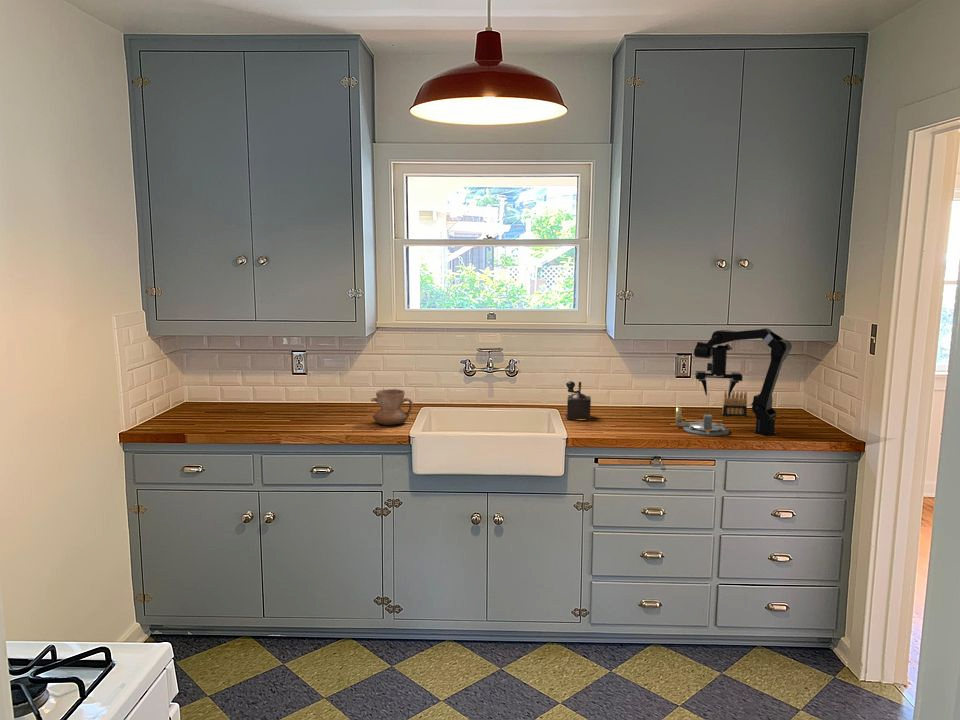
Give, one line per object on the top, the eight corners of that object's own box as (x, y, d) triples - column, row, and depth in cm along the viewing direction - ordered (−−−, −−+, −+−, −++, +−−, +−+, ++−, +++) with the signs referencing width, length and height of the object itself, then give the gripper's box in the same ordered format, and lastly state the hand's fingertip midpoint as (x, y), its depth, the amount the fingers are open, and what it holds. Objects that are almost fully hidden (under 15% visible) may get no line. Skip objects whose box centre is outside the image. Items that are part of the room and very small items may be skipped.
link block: (710, 426, 287) (711, 414, 287) (711, 429, 282) (712, 417, 281) (703, 425, 288) (703, 413, 287) (703, 428, 282) (704, 416, 282)
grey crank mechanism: (728, 426, 292) (729, 409, 291) (722, 434, 279) (723, 416, 278) (679, 420, 302) (680, 404, 301) (671, 428, 289) (671, 411, 288)
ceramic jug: (369, 427, 292) (368, 394, 290) (372, 420, 307) (372, 388, 305) (412, 427, 293) (412, 394, 291) (413, 419, 308) (413, 388, 306)
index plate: (738, 432, 287) (738, 430, 286) (708, 438, 277) (708, 435, 277) (703, 424, 302) (703, 421, 302) (674, 429, 292) (674, 426, 292)
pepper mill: (565, 414, 319) (566, 376, 316) (590, 415, 317) (591, 376, 315) (564, 422, 303) (565, 382, 301) (590, 423, 302) (591, 382, 299)
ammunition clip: (722, 416, 317) (723, 390, 316) (721, 415, 319) (723, 389, 317) (746, 417, 316) (748, 391, 314) (745, 416, 318) (747, 390, 316)
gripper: (740, 358, 301) (738, 393, 303) (695, 356, 305) (693, 391, 307) (743, 361, 290) (741, 398, 292) (696, 359, 294) (695, 396, 297)
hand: (717, 395), depth 297 cm, fingers open, 9 cm apart
